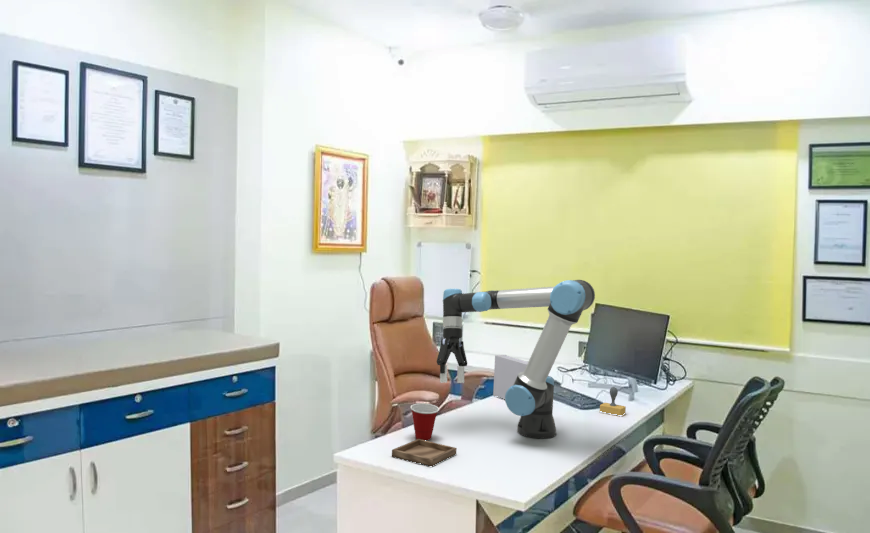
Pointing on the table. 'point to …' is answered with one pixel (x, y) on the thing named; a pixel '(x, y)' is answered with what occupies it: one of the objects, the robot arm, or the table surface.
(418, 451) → the cup tray
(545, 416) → the robot arm
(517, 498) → the table surface
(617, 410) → the rubber stamp
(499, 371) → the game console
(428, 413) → the plastic cup
